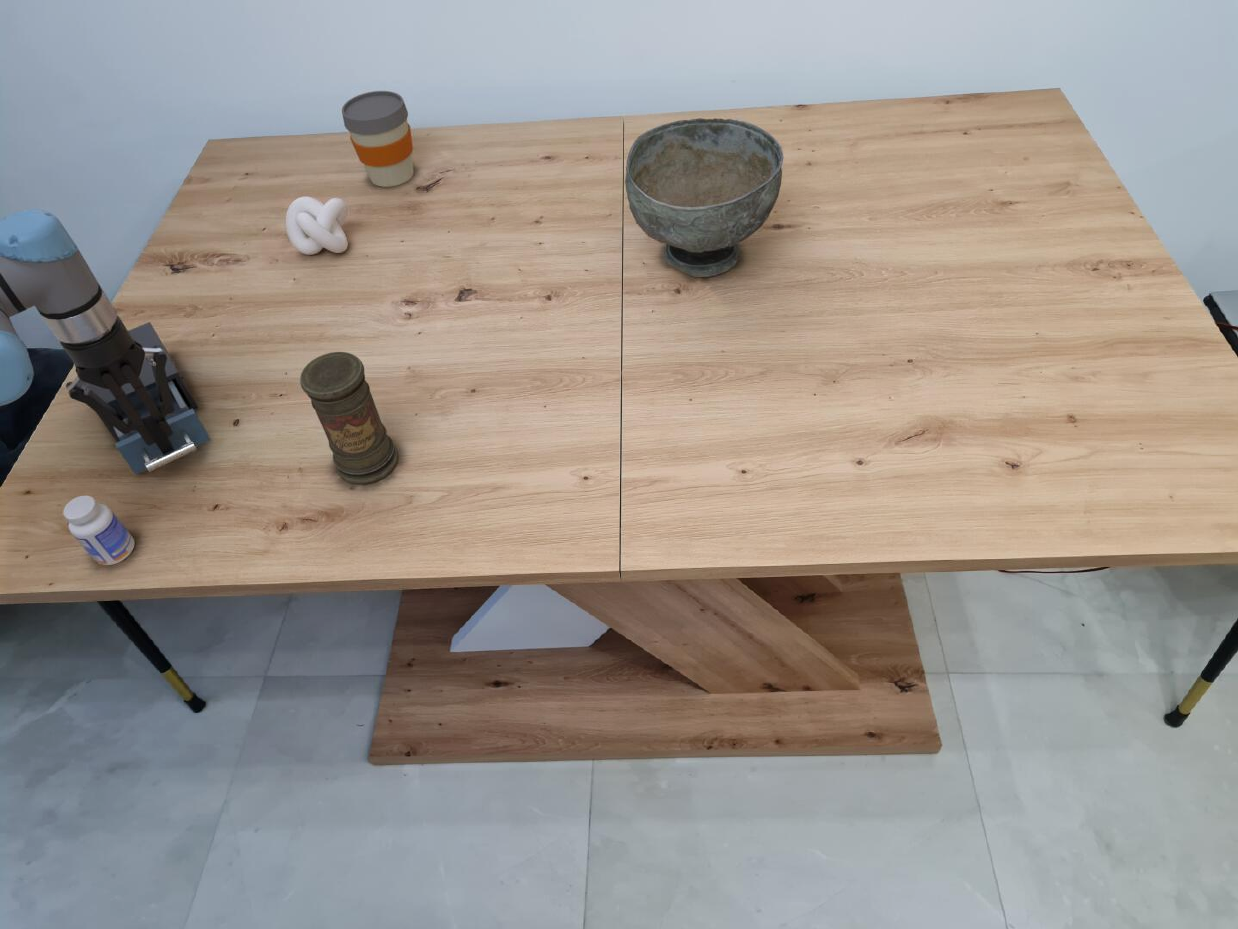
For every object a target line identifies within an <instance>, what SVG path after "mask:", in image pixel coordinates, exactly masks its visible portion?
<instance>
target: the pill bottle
mask: <svg viewBox="0 0 1238 929" xmlns="http://www.w3.org/2000/svg"><path fill="white" fill-rule="evenodd" d="M62 513H63V517H64V518H65V520H66V521H67V522H68V531H69V532H70V534H71V535H72V537H74V539H75V540H76V541H77V542H78V543H79V544H80V545H81V546H82V548H84V550H85V551H86V552H87V553H88V555H90V557H91V558H92V559H93V560H94V561H95V563H97V564H99V565H102V566H112V565H117V564H119V563H121V562H122V561H124V560H125V559H127V558H128V557H129V556H130V555H131V554H132V552H133V550H134V548H135V539H134V538H133V536H132V535H131V533H130V532H129V531H128V530H127V528H126V527H125V526H124V525H123V523H122V522H121V521H120V519H119V518H118V517H117V516H116V515H115V513H114V512H113V511H112V510H111V508H109V506H107V505H106V504H103V503H98V502H97V501H96V499H95V498H94V497H93V496H91V495H79V496H76V497H74V498H73V499H71V500H70V501H69V502H67V504H66V505H65V506H64V508H63V510H62Z"/></svg>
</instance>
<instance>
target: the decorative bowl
mask: <svg viewBox="0 0 1238 929" xmlns="http://www.w3.org/2000/svg"><path fill="white" fill-rule="evenodd" d="M783 163H784V151H783V149H782V146H781V145H780V143H779V142H778V140H777V139H776V138H775V137H774V136H773V135H771V134H770V133H769V132H767V131H766V130H764V129H763V128H761V127H759V126H757V125H756V124H754V123H751V122H748V121H744V120H738V119H731V118H727V119H725V118H716V117H714V118H702V117H700V118H691V119H680V120H677V121H676V120H675V121H671V122H669V123H665V124H662V125H661V124H660V125H657V126H656V127H654V128H651V129H649V130H647V131H645V132H644V133H642V134H640V135H638V137H637V138H636V139H635V140H634V142H633V143H632V145H631V147H630V150H629V152H628V155H627V159H626V166H625V180H624V185H625V192H626V198H627V202H628V204H629V205H628V207H629V210H630V212H631V214H632V216H633V218H634V221H635V223H636V224H637V225H638V227H639V228H640V229H641V230H642V231H643V232H644V233H645V234H646V236H648V237H649V238H651V239H653V240H654V241H657V242H659V243H661V244H665V245H666V246H665V248H664V261H665V263H666V264H667V265H668V266H670V267H672V268H674V269H675V270H677V271H679V272H681V273H683V274H686V275H688V276H690V277H692V278H709V277H714V276H718V275H720V274H724V273H726V272H727V271H730V270H731V269H732V268H734V267H735V266H736V264H737V263H738V260H739V256H740V252H739V250H740V249H739V246H738V245H737V244H739V243H742V242H743V241H745V240H747V239H748V238H750V237H751V236H752V235H754V233H756V232H757V231H758V230H759V229H760V228H761V227H762V226H763V225H764V223H765V222H766V221H767V220H768V218H769V217H770V214H771V213H772V210H773V209H774V207H775V205H776V202H777V201H778V198H779V194H780V190H781V186H782V179H783V169H782V165H783Z"/></svg>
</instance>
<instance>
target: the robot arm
mask: <svg viewBox="0 0 1238 929" xmlns="http://www.w3.org/2000/svg"><path fill="white" fill-rule="evenodd" d="M32 307H35V308H36V310H37V312H38V313H39V316H40V317H41V318H42V319H43V321H44V322H45V323H46V325H47V327H48V328H49V330H50V331H51V332H52V334H53V335H54V336H55V338H56V339H57V340H58V341H59V343H60V345H61V347H62V348H63V350H64V351H65V353H66V354H67V355H68V357H69V358H70V360H71V361H72V363H73V365H74V366H75V365H76V367H75V373H76V375H77V376H76V377H75V378H74V379H73V381H68V382H67V383H65V389H67V390H66V391H67V392H68V395H69V397H70V398H71V399H72V400H75V401H77V402H80V403H83V404H85V405H87V407H89V408H90V409H91V410H93V411H94V412H95V414H97V413H98V414H99V415H100V416H101V417H103V418H104V419H105V420H106V421H108V422H109V423H110V424H111V425H113V426H114V427H115V428H116V429H117V430H119V431H120V432H121V433H123V434H127V433H129V432H130V431H133V430H135V431H138V432H139V434H140V435H141V437H142V438H143V440H144V441H145V443H146V444H147V445H149V446H150V445H152V444H154V443H156V444H157V446H158V447H159V449H160V450H161V452H162V453H163V454H165V453H167V452H169V451H172V450H174V448H173V446H172V444H171V443H170V441H169V440H168V438H167V437H169V436H171V435H173V431H172V429H171V427H170V426H169V424H168V422H167V421H166V419H165V417H166V415H167V414H171V413H173V412H174V405H173V401H172V397H171V393H170V389H169V385H168V380H167V376H166V372H165V365H166V361H167V356H166V354H165V352H164V350H163V349H162V347H161V346H160V345H155V346H154V347H153V348H143V347H142V346H141V344H139V343H137V342H136V341H134V340H133V339H132V337H131V335H130V334H129V332H128V331H129V330H128V329H127V327H126V324H125V323H124V322H123V321H122V319H121V317H120V316H119V315H118V312H117V311H116V309H115V307H114V306H113V304H112V302H111V301H110V299H109V298H108V296H107V294H106V293H105V291H104V289H103V288H102V286H101V284H100V283H99V281H98V280H97V278H96V276H95V275H94V273H93V271H92V270H91V268H90V266H89V264H88V263H87V261H86V260H85V258H84V255H83V254H82V253H81V251H80V249H79V247H78V246H77V245H76V243H75V242H74V240H73V238H72V237H71V235H70V234H69V232H68V231H67V230H66V228H65V226H64V225H63V224H62V223H61V221H60V219H59V218H58V217H57V216H56V215H54V214H53V213H51V212H50V211H47V210H44V209H37V208H36V209H35V208H32V209H31V208H30V209H23V210H19V211H18V210H17V211H14V212H12V213H10V214H7V215H5V216H4V218H3V219H1V220H0V407H1V406H5V405H8V404H11V403H13V402H15V401H17V400H19V399H20V398H22V397H23V395H25V394H26V393H27V391H28V390H29V389H30V387H31V386H32V383H33V380H34V376H35V372H34V367H33V364H32V361H31V358H30V353H29V351H28V347H27V345H26V343H25V342H24V340H22V339H21V338H20V336H19V334H18V333H17V330H16V329H15V327H14V325H13V323H12V321H11V317H14V316H16V315H18V314H20V313H22V312H26V311H27V310H29V309H30V308H32ZM144 358H146V359H147V361H148V363H149V364H150V365H151V366H152V370H153V374H154V378H155V382H156V386H157V390H158V394H159V398H160V402H161V403H159V404H158V405H157V404H156V403H155V401H154V400H153V398H152V397H151V395H150V393H149V392H148V390H147V389H146V387H145V385H144V384H143V382H142V381H141V379H140V378H139V375H140V373H141V369H142V365H143V361H144ZM86 382H87V383H90V384H93V385H96V386H99V387H102V388H104V389H109V390H110V391H111V393H112V394H113V396H114V397H115V398H116V400H117V401H118V403H119V404H120V406H121V407H122V409H123V410H124V412H125V413H126V415H127V416H128V418H124V417H123V416H122V415H121V414H119V413H118V412H117V411H116V410H115V409H113V408H112V407H111V406H110V405H109V404H107V403H106V402H105V401H104V400H103V399H101V398H100V397H99V396H98V395H97V394H95V393H94V392H93V391H92V390H90V388H89V386H88V384H87V383H86ZM127 383H130V384H131V385H132V387H133V388H134V390H135V391H136V393H137V394H138V396H139V397H140V399H141V400H142V402H143V403H144V405H145V407H146V408H147V410H148V411H149V413H150V414H151V415H150V416H148V417H146V418H143V419H142V418H141V416H140V414H139V413H138V412H137V410H136V409H135V407H134V406H133V404H132V403H131V401H130V399H129V398H128V396H127V395H126V393H125V392H124V390H123V389H122V387H121V386H123V385H124V384H127ZM98 414H97V415H98Z"/></svg>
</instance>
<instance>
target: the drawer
mask: <svg viewBox="0 0 1238 929" xmlns="http://www.w3.org/2000/svg"><path fill="white" fill-rule="evenodd" d="M168 385H169V389H170V393H171V397H172V401H173V405H174V412H173V413H171V414H167V415H166V417H165V419H166V421H167V422H168V424H169V426H170V427H171V429H172V431H173V435H171V436H169V437H167V438H168V440H169V441H170V443H171V444H172V446H173V448H174V450H172V451H169V452H167V453H165V454H163V453H162V452H161V450H160V449H159V447H158V446H157V444H156V443H154V444H152V445H150V446H149V445H147V444H146V443H145V441H144V440H143V438H142V437H141V435H140V434H139V432H138V431H135V430H133V431H130V432H129V433H127V434H123V433H121V432H120V431H119V430H117V429H116V428H115V427H114V426H113V427H114V429H115V431H116V434H117V436H118V438H119V439H120V442H117V441H116V442H115V443H114V446H115V448H116V449H117V451H118V452H119V453H120V455H121V457H122V458H123V459H124V460H125V462H126V463H127V465H128V466H129V468H130V469H131V470H132V472H133V474H134V475H135V476H137V475H139V474H141V473H143V472H145V471H148V473H150V472H153V471H154V470H157V469H159V468H161V467H163V466H165V465H168V464H169V463H172V462H174V461H176V460H178V459H180V458H182V457H185V456H187V455H188V454H191V453H193V452H195V451H197V450H198V448H197V447H199V446H201V445H203V444H205V443H208V442H209V441H211V436H210V435H209V434H208V431H207V430H206V428H205V426H204V424H202V421H201V420H200V418H199V416H198V415H197V413H196V412H195V409H194V410H193V409H190V410H189V409H188V407H187V405H186V403H185V401H184V399H183V397H182V396H181V394H180V392H179V390H178V388H177V387H176V385H175V383H174V382H173V380H169V381H168ZM148 392H149V393H150V395H151V397H152V398H153V400H154V401H155V403H156V404H157V405H158V404H159V403H161V402H160V398H159V394H158V390H157V386H156V387H153V388H151V389H149V390H148ZM129 399H130V401H131V403H132V404H133V406H134V407H135V409H136V410H137V412H138V413H139V414H140V416H141V418H142V419H143V418H146V417H148V416H150V415H151V414H150V413H149V411H148V410H147V408H146V407H145V405H144V403H143V402H142V400H141V399H140V397H139V396H138V394H137V395H135V396H133V397H131V398H129ZM111 407H112V408H113V409H115V410H116V411H117V412H118V413H119V414H121V415H122V416H123V417H124V418H128V416H127V415H126V413H125V412H124V410H123V409H122V407H121V406H120V404H119V403H117V404H115V405H112V406H111Z"/></svg>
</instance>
